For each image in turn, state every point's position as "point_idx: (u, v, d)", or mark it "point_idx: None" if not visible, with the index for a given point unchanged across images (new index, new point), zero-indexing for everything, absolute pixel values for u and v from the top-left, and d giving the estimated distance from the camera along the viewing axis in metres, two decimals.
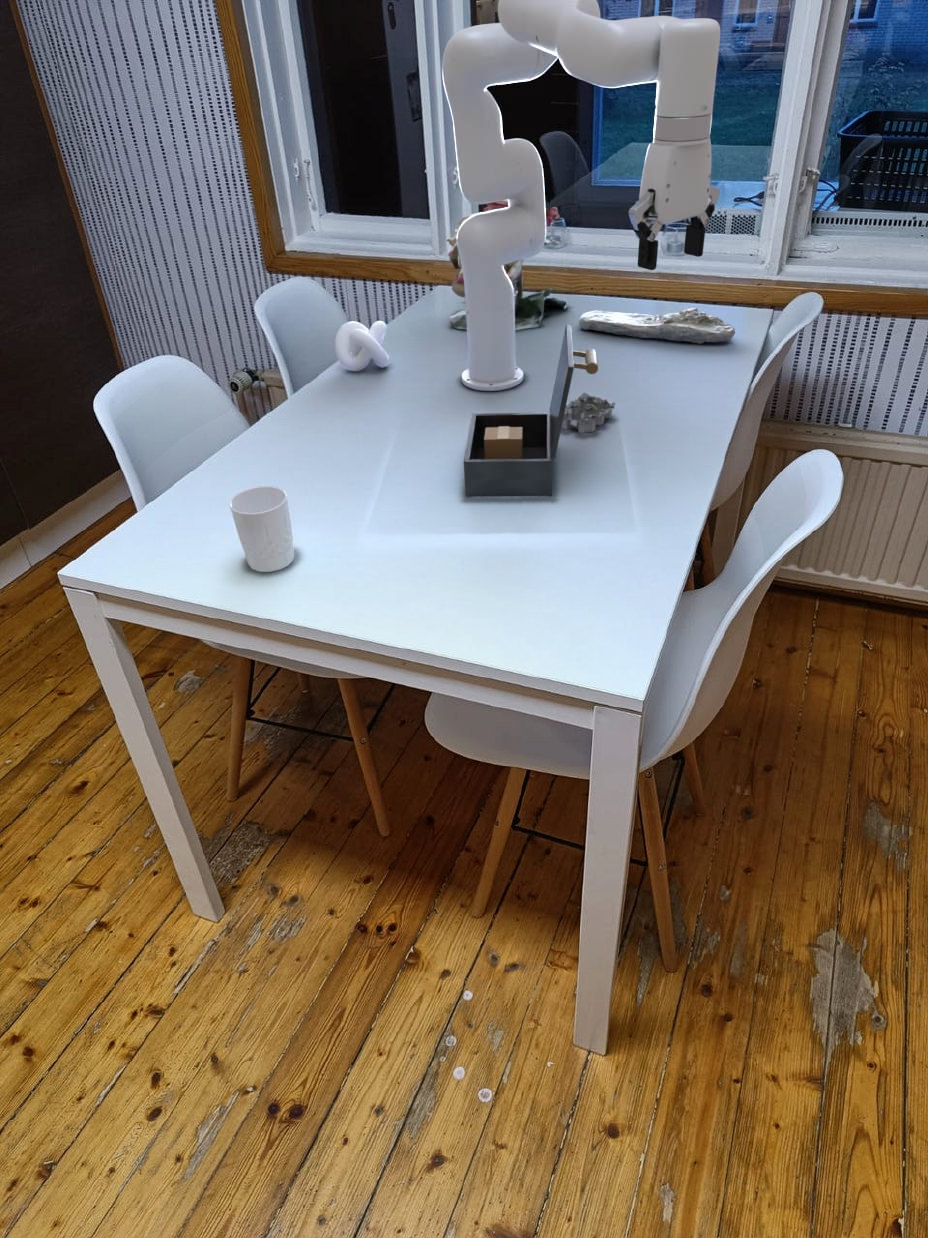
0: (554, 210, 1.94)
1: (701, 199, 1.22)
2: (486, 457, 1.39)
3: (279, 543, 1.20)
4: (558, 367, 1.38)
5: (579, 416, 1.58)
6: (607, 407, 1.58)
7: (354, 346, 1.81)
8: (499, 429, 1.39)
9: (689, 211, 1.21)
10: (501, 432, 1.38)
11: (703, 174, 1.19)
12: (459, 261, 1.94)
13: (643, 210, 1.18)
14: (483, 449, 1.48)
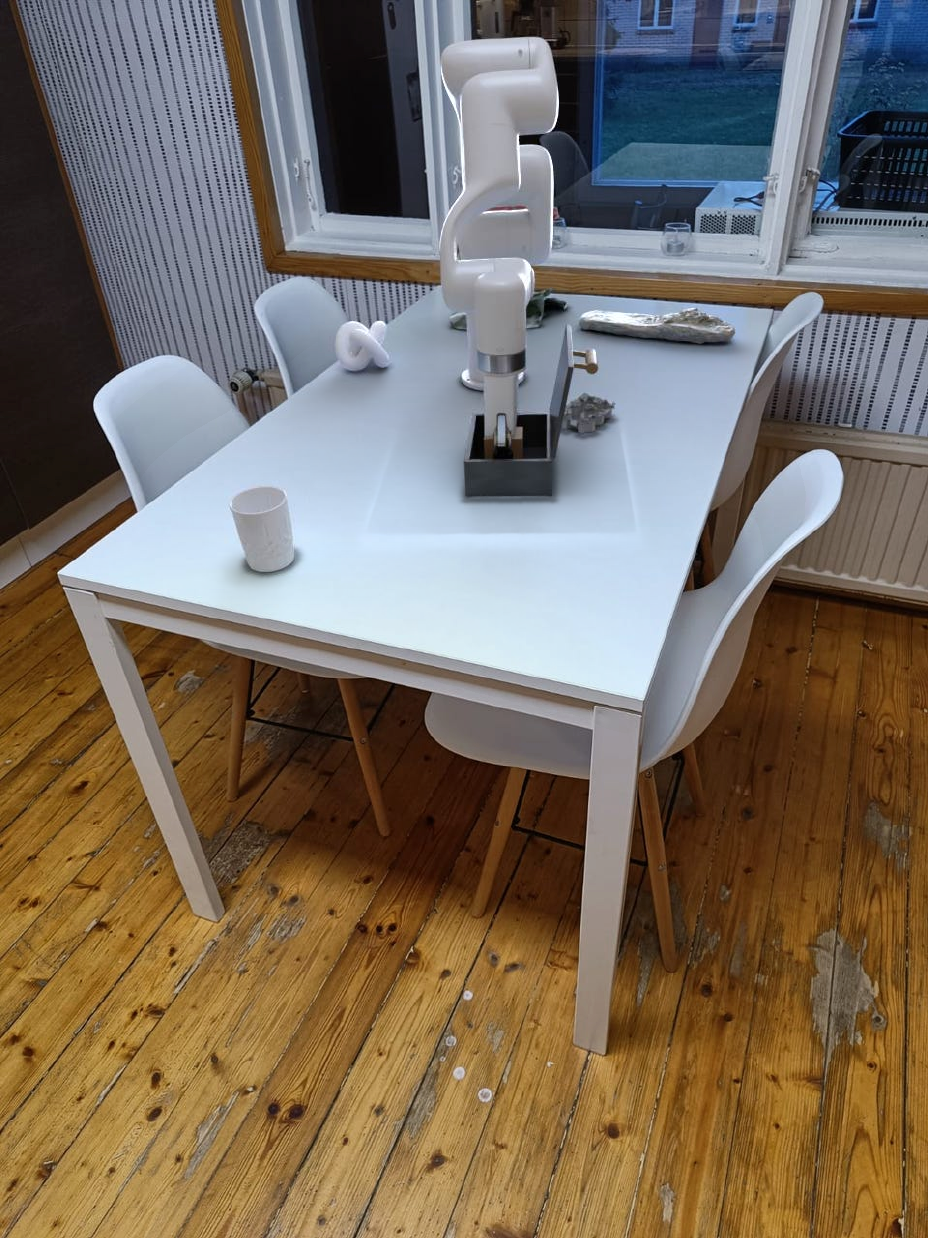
0: (554, 210, 1.94)
1: None
2: (486, 457, 1.39)
3: (279, 543, 1.20)
4: (558, 367, 1.38)
5: (579, 416, 1.58)
6: (607, 407, 1.58)
7: (354, 346, 1.81)
8: None
9: None
10: None
11: None
12: None
13: (505, 437, 1.33)
14: (483, 449, 1.48)
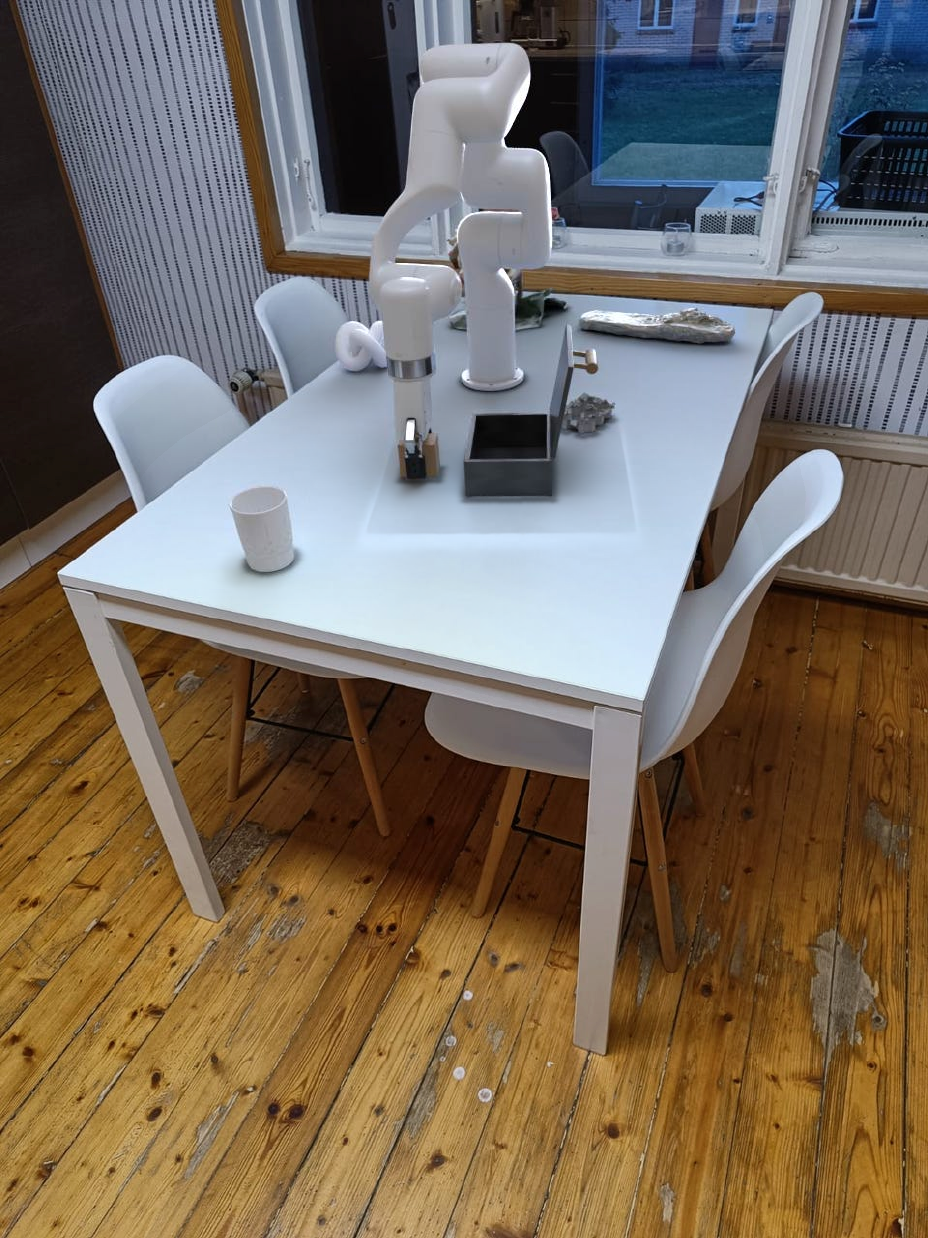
0: (554, 210, 1.94)
1: (431, 410, 1.40)
2: (401, 463, 1.40)
3: (279, 543, 1.20)
4: (558, 367, 1.38)
5: (579, 416, 1.58)
6: (607, 407, 1.58)
7: (354, 346, 1.81)
8: None
9: (430, 422, 1.39)
10: None
11: None
12: (459, 261, 1.94)
13: (414, 437, 1.32)
14: (483, 449, 1.48)
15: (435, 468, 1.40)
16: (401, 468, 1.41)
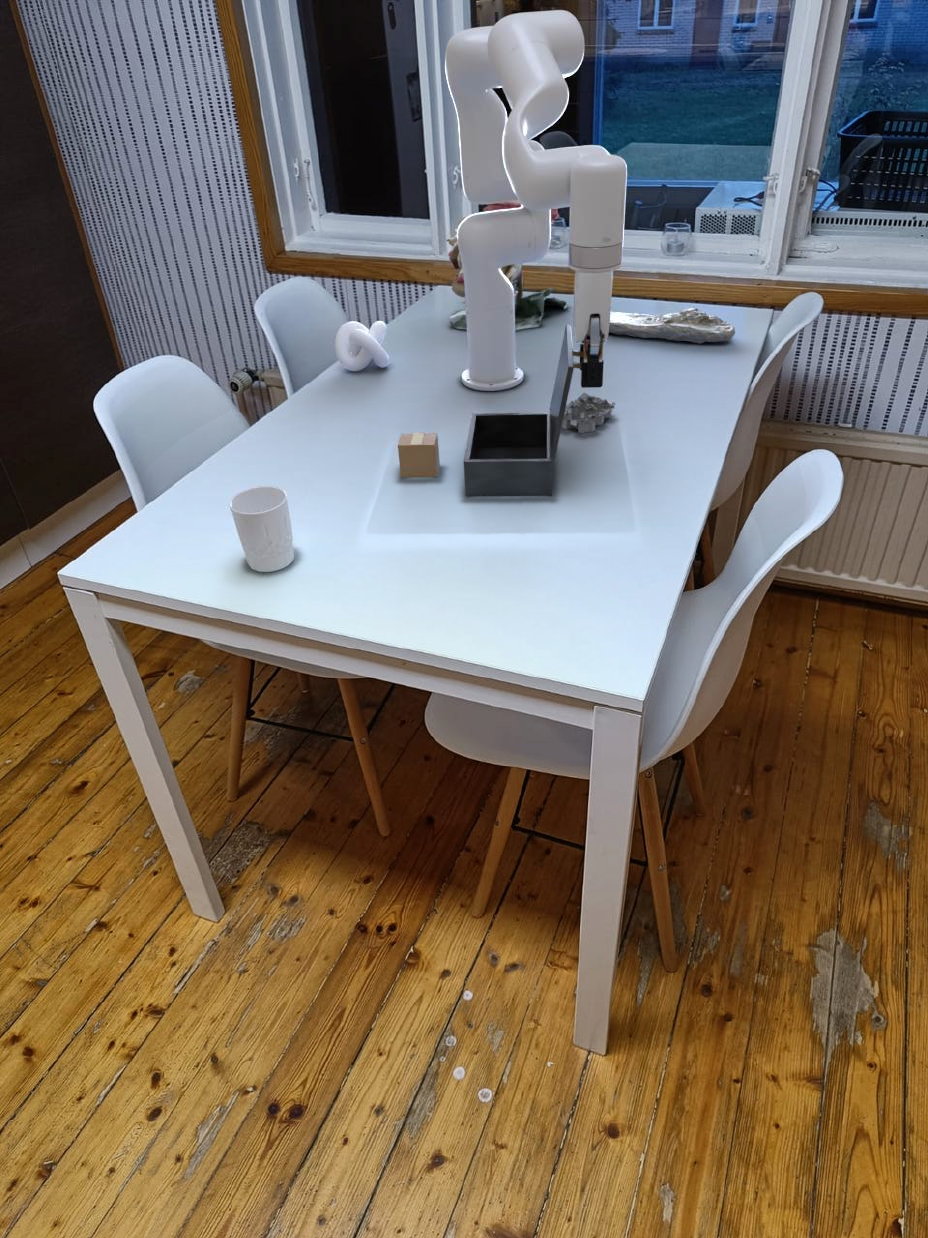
0: (554, 210, 1.94)
1: None
2: (401, 463, 1.40)
3: (279, 543, 1.20)
4: (558, 367, 1.38)
5: (579, 416, 1.58)
6: (607, 407, 1.58)
7: (354, 346, 1.81)
8: (414, 435, 1.41)
9: None
10: (415, 438, 1.40)
11: None
12: (459, 261, 1.94)
13: None
14: (483, 449, 1.48)
15: (435, 468, 1.40)
16: (401, 468, 1.41)
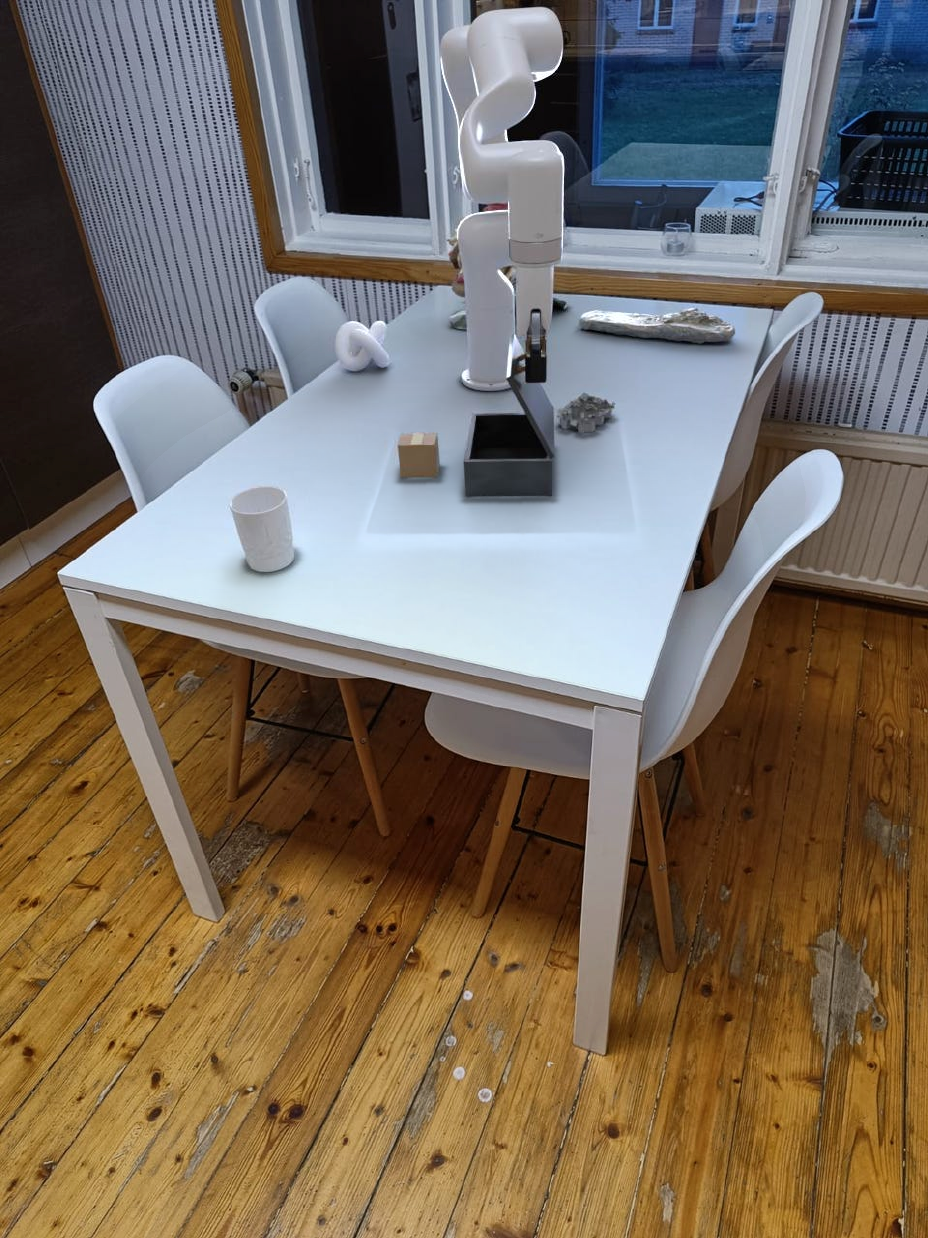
0: None
1: None
2: (401, 463, 1.40)
3: (279, 543, 1.20)
4: None
5: (579, 416, 1.58)
6: (607, 407, 1.58)
7: (354, 346, 1.81)
8: (414, 435, 1.41)
9: None
10: (415, 438, 1.40)
11: None
12: (459, 261, 1.94)
13: None
14: (483, 449, 1.48)
15: (435, 468, 1.40)
16: (401, 468, 1.41)
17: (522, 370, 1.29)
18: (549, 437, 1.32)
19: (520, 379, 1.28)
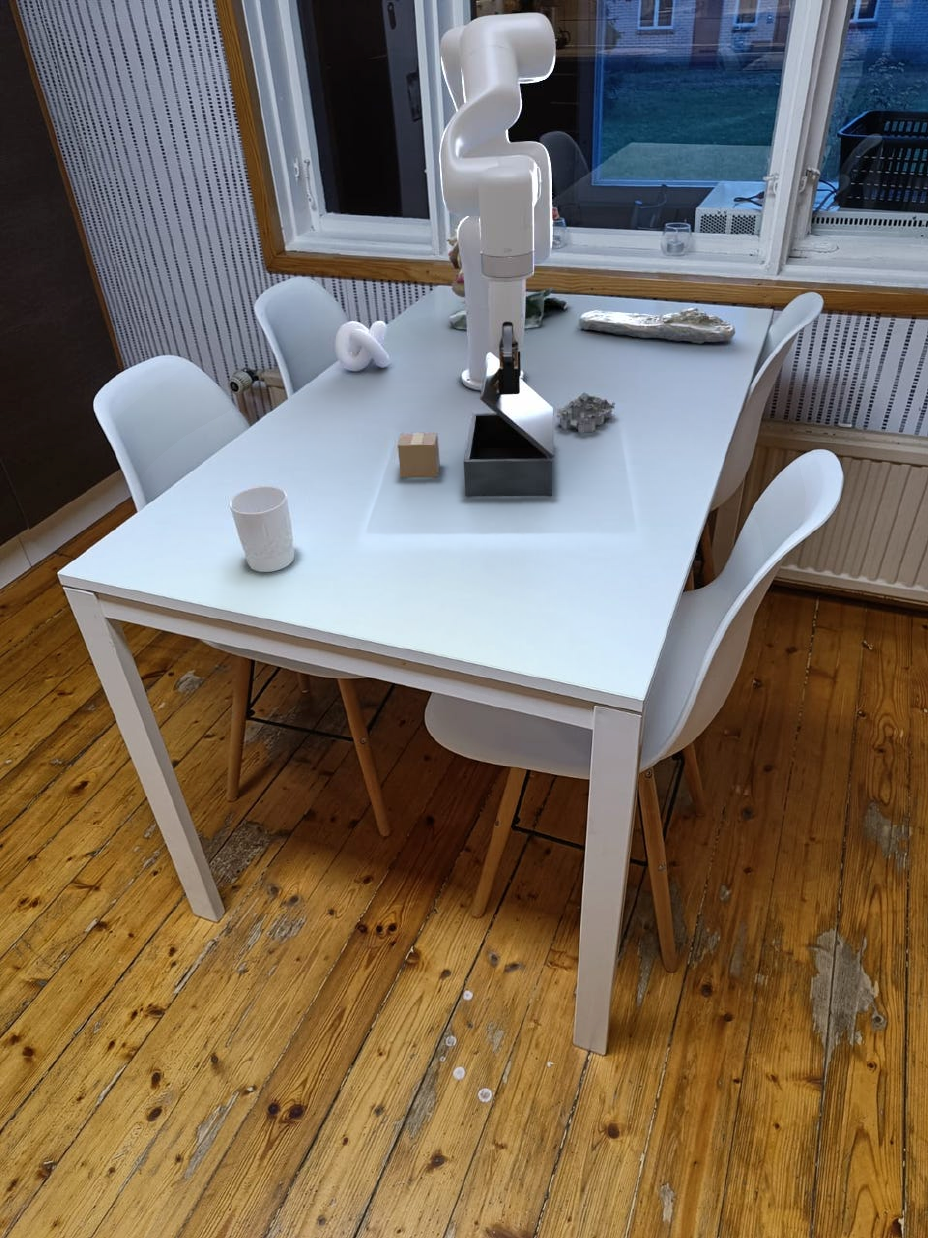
0: (554, 210, 1.94)
1: None
2: (401, 463, 1.40)
3: (279, 543, 1.20)
4: None
5: (579, 416, 1.58)
6: (607, 407, 1.58)
7: (354, 346, 1.81)
8: (414, 435, 1.41)
9: None
10: (415, 438, 1.40)
11: None
12: (459, 261, 1.94)
13: None
14: (483, 449, 1.48)
15: (435, 468, 1.40)
16: (401, 468, 1.41)
17: (498, 385, 1.30)
18: (545, 439, 1.32)
19: (498, 394, 1.30)
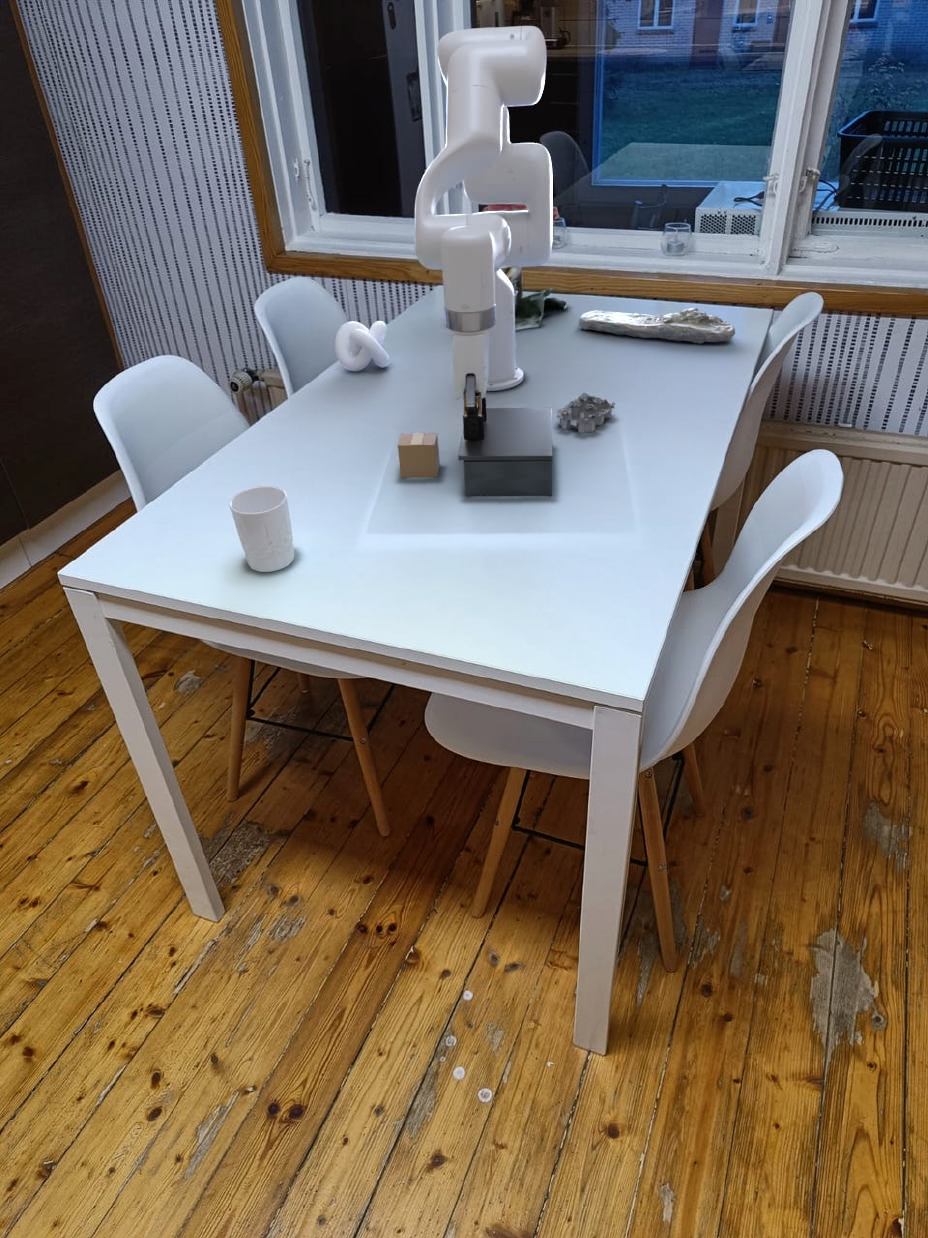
0: (554, 210, 1.94)
1: None
2: (401, 463, 1.40)
3: (279, 543, 1.20)
4: None
5: (579, 416, 1.58)
6: (607, 407, 1.58)
7: (354, 346, 1.81)
8: (414, 435, 1.41)
9: None
10: (415, 438, 1.40)
11: None
12: None
13: (474, 397, 1.28)
14: None
15: (435, 468, 1.40)
16: (401, 468, 1.41)
17: None
18: (540, 445, 1.33)
19: (478, 441, 1.35)
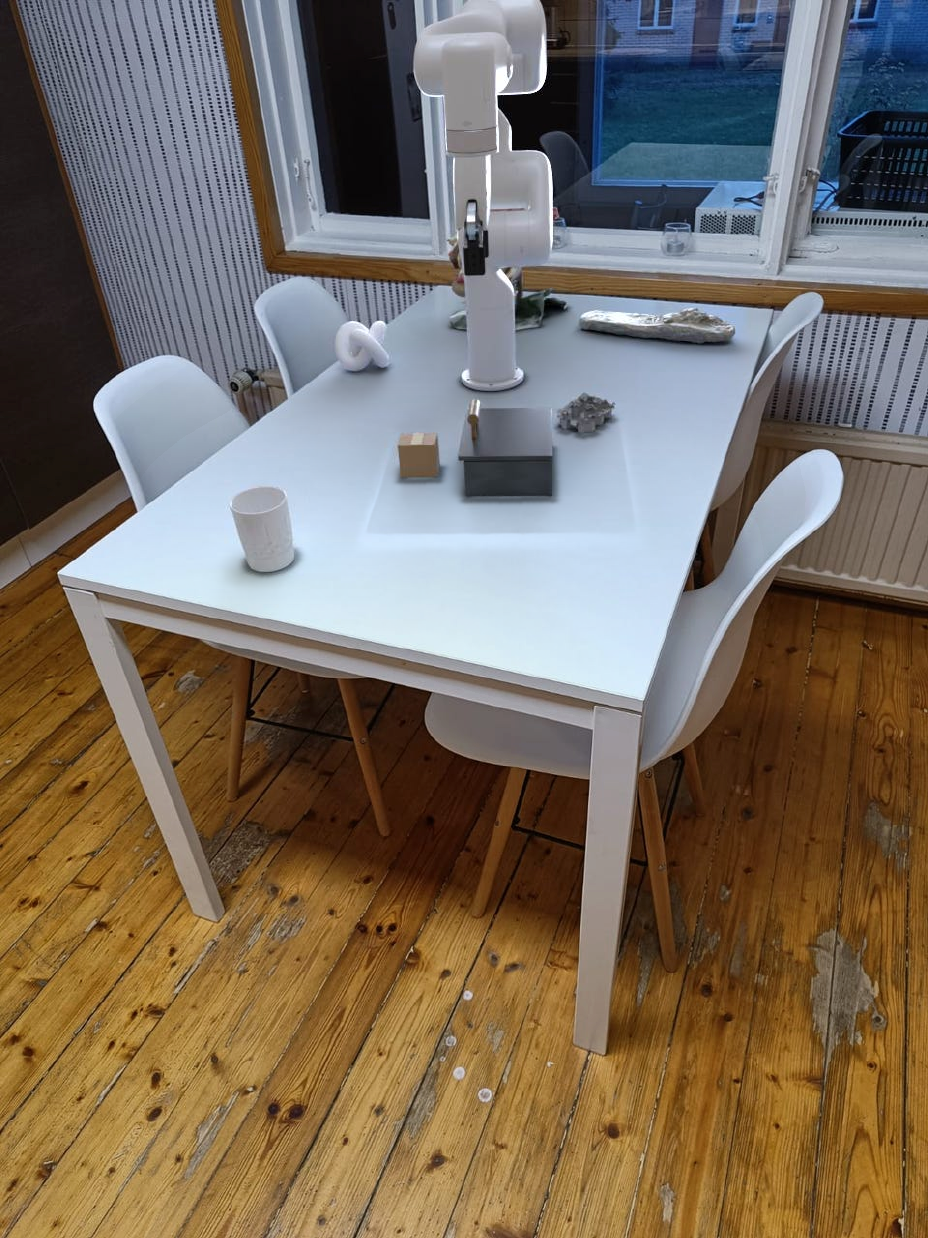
0: (554, 210, 1.94)
1: None
2: (401, 463, 1.40)
3: (279, 543, 1.20)
4: None
5: (579, 416, 1.58)
6: (607, 407, 1.58)
7: (354, 346, 1.81)
8: (414, 435, 1.41)
9: (489, 215, 1.30)
10: (415, 438, 1.40)
11: None
12: (459, 261, 1.94)
13: (475, 219, 1.23)
14: None
15: (435, 468, 1.40)
16: (401, 468, 1.41)
17: (474, 434, 1.36)
18: (540, 445, 1.33)
19: (478, 442, 1.35)
